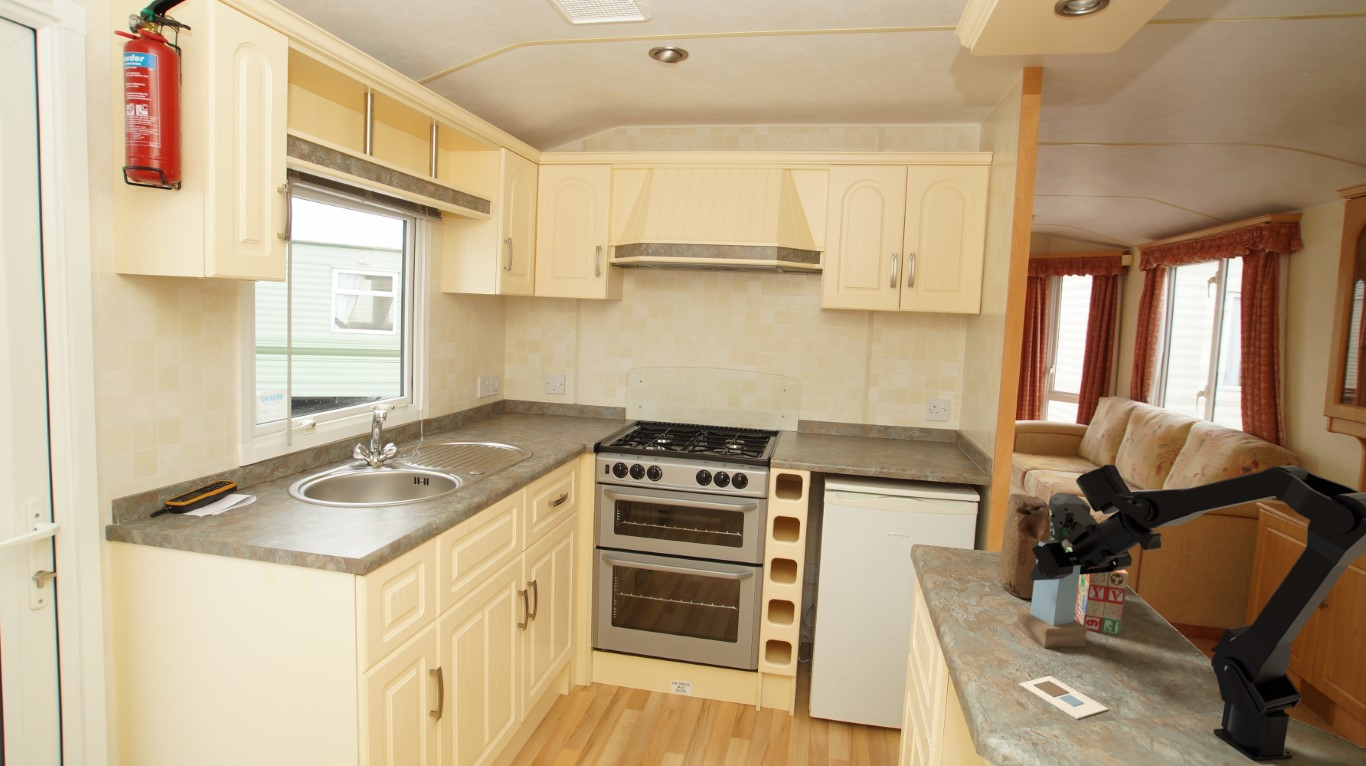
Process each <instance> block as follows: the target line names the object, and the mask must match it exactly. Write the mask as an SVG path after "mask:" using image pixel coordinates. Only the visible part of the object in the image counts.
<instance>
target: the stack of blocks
mask: <svg viewBox="0 0 1366 766" xmlns="http://www.w3.org/2000/svg"><path fill="white" fill-rule="evenodd" d="M1066 552H1072V548H1069V547H1066ZM1114 564H1115V563H1114ZM1128 579H1129V572H1127V570H1126V568H1125V569H1124V570H1117V571H1114V572H1106V573H1094V574H1083V575H1079V583H1078V591H1077V599H1076V607H1075V613H1076V614H1075V615H1076V618H1077V621H1078V622H1079V623H1081V624H1082V625H1084V626H1085V627H1087V631H1091V632H1096V631H1098V632H1097V633H1103V632H1105V633H1104V634H1109V633H1113V634H1112V635H1115V634H1119V635H1120V632H1121V626H1122V616H1123V610H1124V605H1125V599H1126V593H1127V584H1128V581H1129V580H1128ZM1092 630H1093V631H1092Z"/></svg>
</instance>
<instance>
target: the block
mask: <svg viewBox="0 0 1366 766" xmlns="http://www.w3.org/2000/svg"><path fill="white" fill-rule="evenodd" d="M1005 514H1006V515H1005V521H1004V528H1003V534H1002V535H1003V536H1002V543H1001V544H1002V545H1001V553H1000V562H999V582H1000V585H1001V587H1002V588H1003V589H1004V590H1006V591H1007V592H1008V593H1010V594H1011V595H1012V596H1015V597H1019V598H1023V599H1032V595H1033V587H1034V581H1033V580H1032V579H1031V577H1030V573H1031V572H1032V570H1033V568H1034V567H1035V565H1036V561H1037V558H1036V556H1035V554H1034V552H1033V551H1032V546H1033V545H1035V544H1036V543H1038V542H1039V541H1045V540H1049V539H1050V524H1051V523H1050V510H1049V506H1048V503H1046V501H1045V500H1044V499H1042V498H1041V497H1038V496H1031V495H1027V494H1022V493H1011V494H1010V495H1009V498H1008V502H1007V509H1006V513H1005Z"/></svg>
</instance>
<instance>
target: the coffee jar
mask: <svg viewBox="0 0 1366 766" xmlns="http://www.w3.org/2000/svg"><path fill="white" fill-rule="evenodd" d="M1048 499H1049V500H1048V503H1047V505H1048V506H1049V510H1050V516H1051V514H1052V513H1051V511H1052V510H1055V509H1056V508H1057V507H1059V506H1060V505H1063V504H1078V505H1080V506H1081V507H1082V508H1084V509H1085V510H1086V511H1087V512H1088V513H1089V514H1090V515H1091V509H1092V507H1091V506H1090V504H1089V503H1088V502H1087V501H1085V500H1084V499H1082V498H1081V497H1079V496H1078V495H1077V494H1074V493H1067V492H1066V493H1065V492H1056V493H1053V495H1051V496H1050V497H1049V498H1048ZM1050 523H1051V524H1050V539H1049V540H1056V541H1059V542H1060V543H1061V545H1062V546H1063V548H1064V550H1065V552H1066V547H1069V548H1071V546H1072V544H1070V543H1069V542H1068V540H1067V539H1066V537H1067V536H1068V535H1070V534H1068V533H1067V532H1066V531H1065V530H1064V529H1063V528H1059V527H1057V526H1056V525H1055V524H1054V523H1053V522H1052V521H1051V518H1050Z"/></svg>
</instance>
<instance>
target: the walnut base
mask: <svg viewBox="0 0 1366 766" xmlns="http://www.w3.org/2000/svg"><path fill="white" fill-rule="evenodd" d="M1030 612H1031V608H1018V609H1017V617H1016V625H1015V626H1016V628H1017V629H1018V630H1019V631H1020V632H1022V633H1023V634H1025V635H1027V637H1029V638H1030V639H1032V640H1033V641H1035V642H1036V643H1037V644H1039V645H1040V646H1041V647H1043V648H1044V649H1046V648H1047V649H1049V648H1071V647H1073V648H1075V647H1085V645H1086V638H1087V631H1088V630H1087V627H1085V626H1084V625H1082V624H1081V623H1080V622H1079V620H1076V619H1074V622H1073V623H1067V624H1061V625H1055V626H1053V625H1051V624H1049V623H1047V622H1045V621H1043V620H1041V619H1039V618H1037V617H1035V616H1033V615H1031V614H1030Z"/></svg>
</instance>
